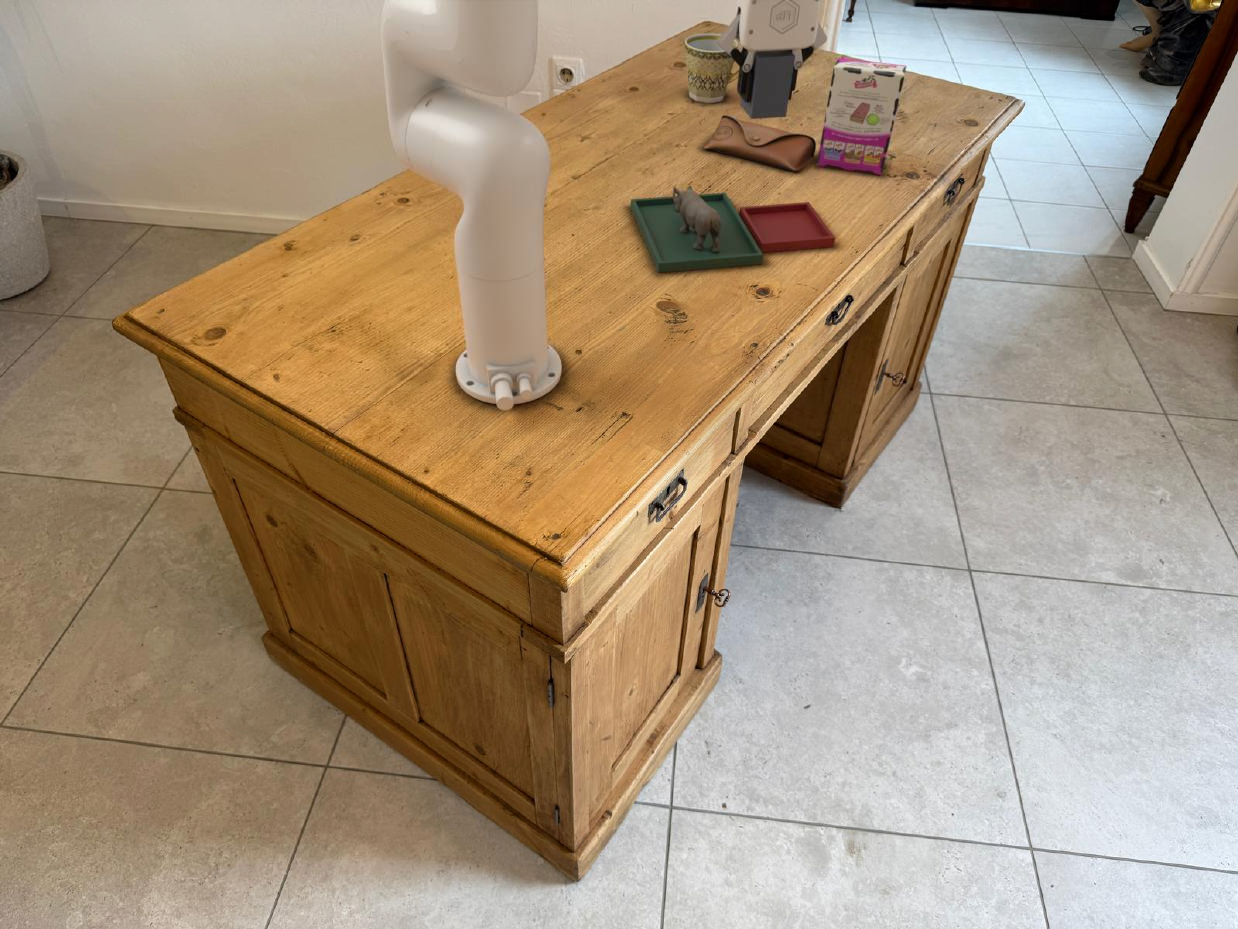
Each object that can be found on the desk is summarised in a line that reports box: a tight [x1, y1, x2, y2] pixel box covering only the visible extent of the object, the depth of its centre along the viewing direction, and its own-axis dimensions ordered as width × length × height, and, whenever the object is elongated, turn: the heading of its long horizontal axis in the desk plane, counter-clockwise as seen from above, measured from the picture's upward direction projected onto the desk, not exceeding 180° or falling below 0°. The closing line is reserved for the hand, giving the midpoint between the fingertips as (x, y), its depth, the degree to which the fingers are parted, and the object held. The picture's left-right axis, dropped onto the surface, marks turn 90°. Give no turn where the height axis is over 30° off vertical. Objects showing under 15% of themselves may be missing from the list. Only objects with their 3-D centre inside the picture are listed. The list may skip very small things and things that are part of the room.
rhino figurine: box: [672, 185, 722, 253], centre depth 129 cm, size 4×14×6 cm, turn 21°
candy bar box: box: [816, 57, 907, 176], centre depth 144 cm, size 11×5×16 cm, turn 73°
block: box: [739, 50, 795, 120], centre depth 118 cm, size 5×5×8 cm
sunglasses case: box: [703, 114, 817, 172], centre depth 151 cm, size 18×7×7 cm, turn 62°
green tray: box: [630, 192, 764, 273], centre depth 130 cm, size 19×15×2 cm
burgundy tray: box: [738, 201, 836, 254], centre depth 132 cm, size 11×11×2 cm
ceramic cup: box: [684, 32, 740, 104], centre depth 166 cm, size 13×10×10 cm
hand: (765, 96), depth 120 cm, fingers closed on block, 5 cm apart
